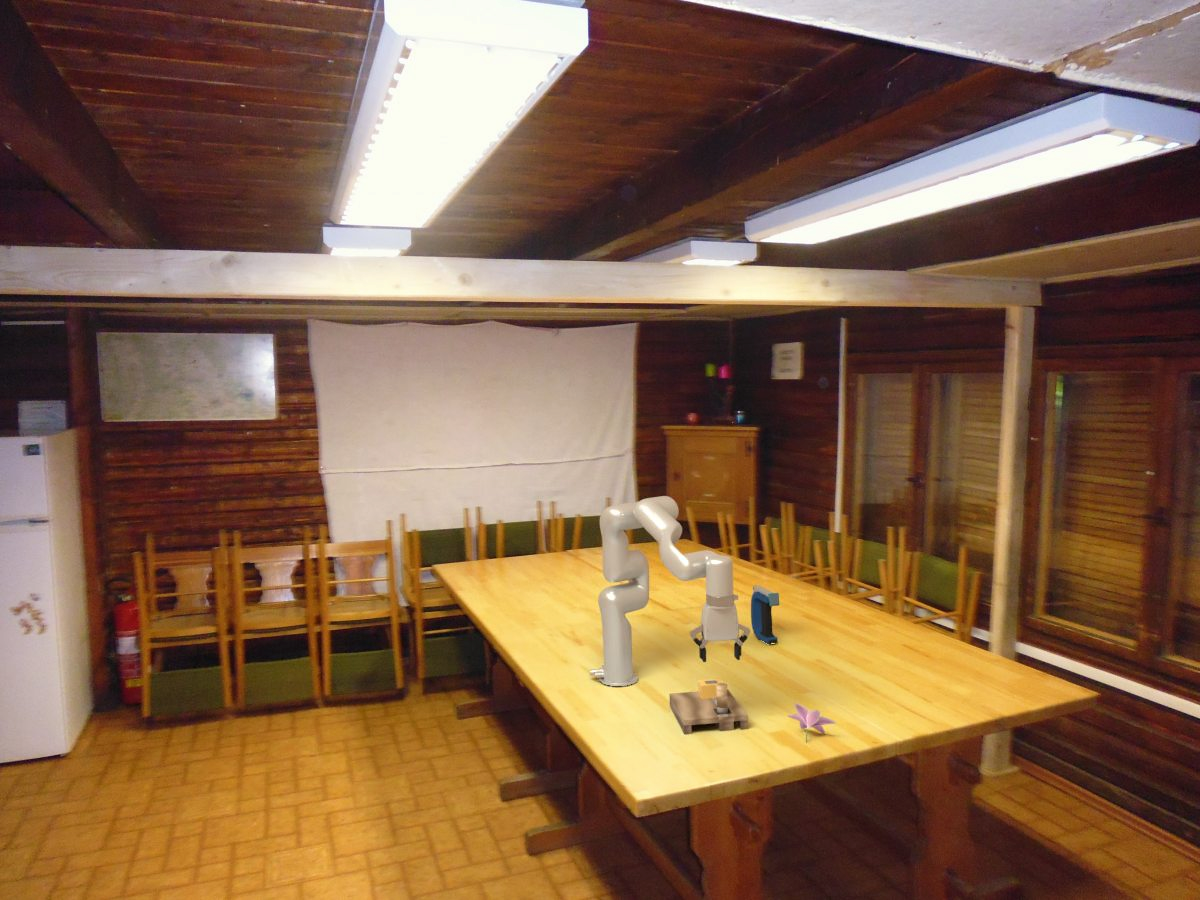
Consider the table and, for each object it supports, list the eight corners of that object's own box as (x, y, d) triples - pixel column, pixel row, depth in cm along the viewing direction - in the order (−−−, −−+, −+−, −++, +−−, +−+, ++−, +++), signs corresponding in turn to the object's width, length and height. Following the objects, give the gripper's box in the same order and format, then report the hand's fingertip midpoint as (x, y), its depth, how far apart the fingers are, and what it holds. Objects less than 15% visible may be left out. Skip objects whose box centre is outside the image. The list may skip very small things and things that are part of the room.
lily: (841, 747, 216) (841, 709, 220) (810, 740, 210) (811, 701, 214) (807, 746, 225) (808, 710, 229) (776, 739, 220) (778, 703, 224)
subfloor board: (684, 734, 225) (684, 720, 224) (669, 706, 244) (669, 693, 244) (747, 728, 227) (747, 714, 226) (728, 701, 247) (727, 688, 246)
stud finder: (701, 699, 239) (701, 685, 239) (698, 693, 243) (697, 680, 243) (725, 697, 240) (724, 683, 240) (721, 691, 244) (720, 678, 244)
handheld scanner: (769, 647, 296) (769, 594, 295) (750, 634, 311) (750, 584, 310) (781, 646, 297) (781, 593, 296) (761, 633, 313) (760, 583, 311)
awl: (718, 718, 228) (717, 687, 227) (716, 714, 231) (715, 683, 230) (729, 717, 228) (728, 686, 228) (726, 713, 231) (725, 682, 231)
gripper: (745, 594, 232) (746, 653, 234) (686, 598, 230) (687, 657, 232) (753, 601, 225) (754, 662, 226) (692, 605, 223) (693, 666, 224)
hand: (720, 659), depth 229 cm, fingers open, 9 cm apart
